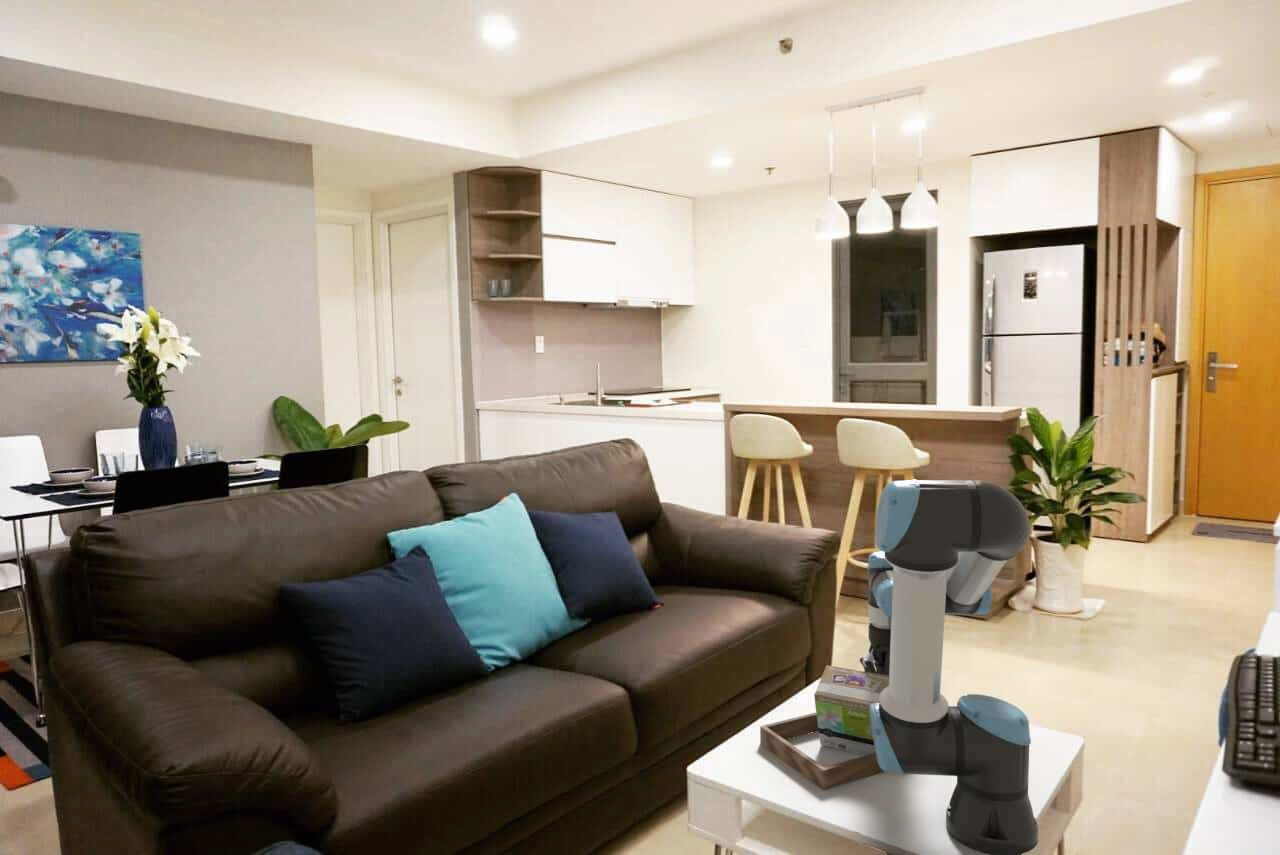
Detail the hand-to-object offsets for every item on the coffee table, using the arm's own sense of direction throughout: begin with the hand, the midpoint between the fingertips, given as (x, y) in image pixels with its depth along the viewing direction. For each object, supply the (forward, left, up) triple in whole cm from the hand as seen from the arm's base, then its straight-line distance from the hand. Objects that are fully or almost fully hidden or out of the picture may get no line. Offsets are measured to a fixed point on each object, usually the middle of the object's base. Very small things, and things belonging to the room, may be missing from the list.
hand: (886, 726), depth 189 cm
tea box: (0, +7, -1) cm, 7 cm away
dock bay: (0, +15, -3) cm, 15 cm away
